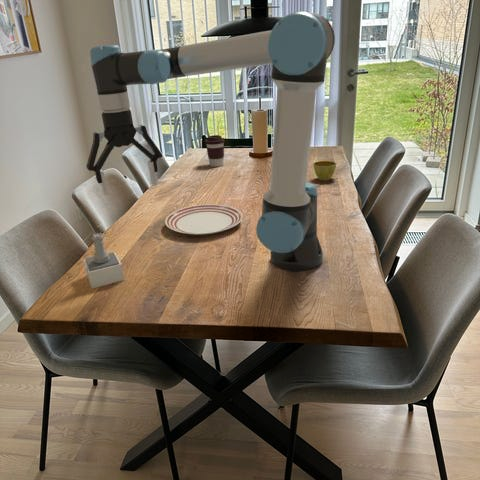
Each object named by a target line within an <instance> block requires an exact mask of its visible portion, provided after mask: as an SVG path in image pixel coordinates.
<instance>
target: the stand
mask: <svg viewBox="0 0 480 480" xmlns="http://www.w3.org/2000/svg"><path fill="white" fill-rule="evenodd" d="M108 253H109V257H110V259H109V261H108V262H106V263H102V264H98V263H95V262H94V256H91V257H87V258H85V259H83V263H84V267H85V272H86V276H87V278H88V279H87V280H88V281H89V284H90V287H91V289H96V288H100V287H103V286H107V285H111V284H114V283H115V284H116V283H118V282H123V281H125V274H124V269H123V265H122V262H121V261H120V259H119V256H118V255H117V253H116V252H108Z"/></svg>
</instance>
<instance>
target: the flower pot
mask: <svg viewBox="0 0 480 480" xmlns="http://www.w3.org/2000/svg"><path fill="white" fill-rule="evenodd" d="M312 165H313V170H314V173H315V175H316V177H317V179H318V180H319V181H321V182H322V181H325V182H326V181H330V180H331V179H332V177H333V175H334V173H335V170H336V168H337V162H336V161H331V160H319V161H315V162H313V164H312Z"/></svg>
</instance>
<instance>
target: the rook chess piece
mask: <svg viewBox="0 0 480 480" xmlns="http://www.w3.org/2000/svg"><path fill="white" fill-rule="evenodd" d="M103 239H104V236H103V233H101V232H95V233H93V234H92V237H91V240H92V242H93V245H94V254H93V257H94V262H95V263H98V264H102V263H106V262H108V261H109V259H110V257H109V253H110V252H108V251H107V250H106V247H105V245H104V243H105V242H104V240H103Z"/></svg>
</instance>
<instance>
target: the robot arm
mask: <svg viewBox="0 0 480 480" xmlns="http://www.w3.org/2000/svg"><path fill="white" fill-rule="evenodd" d="M335 35H336V34H335V32H334V28H333V26H332V24H331V23H330V21H329V20H328V19H327V18H326V17H325V16H323V15H320V14H319V13H314V12H310V11H309V12H308V11H304V10H303V11H294V12H291V13H289V14H287V15H285V16H283V17H281V19H279V20H278V21H277V23H275V24H274V26H273V28H272V29H271V30H266V31H259V32H253V33H249V34H243V35H237V36H233V37H226V38H220V39H219V38H218V39H214V40H209V41H204V42H203V41H202V42H198V43H193V44H192V43H191V44H186V45H181V46H175V47H168V48H161V49H147V50H141V51H133V52H122V51H121V47H120V46H119V45H118V44H111V45H104V46H103V45H100V46H92V47H91V48H90V50H89V54H90V56H89V57H90V62H91V65H90V66H91V70H92V73H93V77H94V82H95V87H96V90H97V91H96V93H97V98H98V103H99V108H100V110H101V111H102V112H101V119H102V123H103V128H104V129H103V132H96V131H94V132H93V133H92V140H93V141H92V145H91V148H90V152H89V156H88V160H87V163H86V169H87V170H88V171H90V172H94V174H95V175H94V176H95V179H96V182H97V183H98V184H101V187H102V188H101V189H102V192H103V195H105V196H108V195H109V191H108V187H107V181H106V178H105V177H106V176H105V172H104V170H103V169H102V168H103V167H104V164H105V163H106V161H107V160H108V157H109V155H110V154H111V152H112V151H113V150H114V148H121V147H126V146H127V147H128V146H130V145H131V144H132V145H133V146H134V147H135V148H136V149H138V150H139V151H140V152H142V153H143V154H144V155H145V156H146V157H147V158H148V159H150V160H147V165H148V172H149V178H150V183H151V184H152V185H154V186H156V185H157V179H156V173H158V172H159V171H158V170H159V169H158V164H157V163H158V162H157V161H158V159H161V158H162V157H163V154H162V152H161V151H160V149H159V148H158V146H157V145H156V143H155V142H154V141H153V139H152V138H151V136H150V135H149V133H148V129H147V126H145V125H143V124H140V125H139V126H137V127H135V126H134V121H133V116H132V115H133V114H132V111H131V109H129V108H130V107H131V103H130V98H129V93H128V87H127V86H131V85H135V86H136V85H155V84H156V85H157V84H162V83H165V82H167V81H168V80H170V79H177V78H186V77H191V76H197V75H203V74H205V75H206V74H212V73H217V72H224V71H225V72H226V71H232V70H239V69H245V68H247V69H248V68H253V67H261V66H266V65H271V81H272V82H273V83H274V85H275V87H276V89H277V90H276V104H275V116H274V131H273V143H272V154H271V155H272V159H271V168H270V184H269V189H267V190H266V191H265V192H264V193H263V196H262V204H261V205H262V206H261V207H262V208H261V215H260V217H259V218H258V220H257V223H256V226H255V227H256V228H255V230H256V236H257V238H258V240H259V242H260V243H261V244H262V245H263V246H264V248H266V249H267V250H269V251H270V262H271V264H272V265H273V266H275V268H279V270H280V269H281V270H283V271H291V272H301V271H303V272H304V271H308V270H312V269H315V268H317V267H318V266H320V265H321V264H322V263H323V261H324V258H323V257H324V256H323V254H324V251H323V249H322V247H321V243H320V241H319V237H318V235H317V234H318V223H317V222H318V196H319V194H318V189H317V186H316V185H315V184H314V183H310V182H307V176H308V169H309V168H308V166H309V160H310V159H309V157H310V151H311V150H310V149H311V140H312V132H313V131H312V130H313V121H314V115H315V113H314V112H315V105H316V104H315V103H316V94H317V90H318V89H319V88H320V87H322V85H323V84H324V83H325V77H326V69H327V64H328V63H327V62H328V59H329V58H330V56H331V54H332V53H333V51H334V48H335V43H336V38H335ZM137 133H138V134H139V135H141V136H142V138H143V139H144V141H145V142H146V144H147V145H148V146H149V148H150V149H151V150H152V152H150V151H149V150H148V148H146V147H144V146H143V145H142V144H141V143H140V142H139V141H138V140H136V138H134V137H136V134H137ZM104 138H105V139H106V140H107V143H106V144H105V146H104V149H103V151H102V152H101V153H100V156H99V158H98V159H97V155H98V151H99V147H100V144H101V143H100V142H101V141H103V139H104ZM96 159H97V161H96Z"/></svg>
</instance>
